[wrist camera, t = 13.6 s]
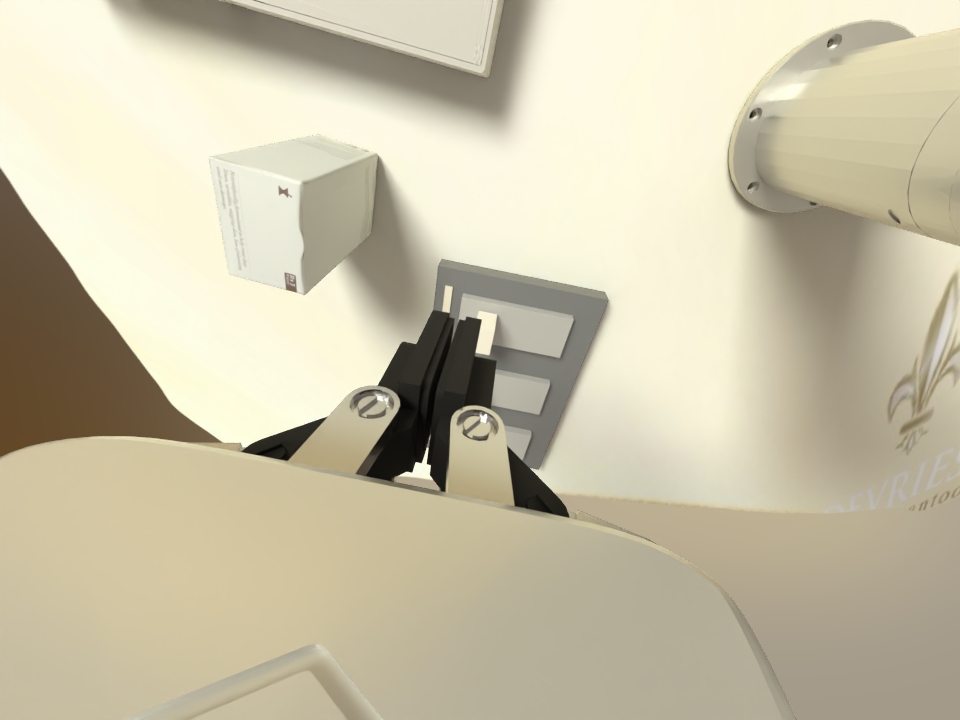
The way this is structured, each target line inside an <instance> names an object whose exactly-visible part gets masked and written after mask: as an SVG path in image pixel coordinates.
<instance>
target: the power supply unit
mask: <svg viewBox="0 0 960 720" xmlns="http://www.w3.org/2000/svg"><path fill="white" fill-rule="evenodd" d="M218 1H221V2H225V3H228V4H234V5H237V6H240V7H243V8H245V9H247V8H248V9H251V10H254V11H257V12H261V13H264V14H268V15H271V16H274V17H278V18H281V19H285V20H288V21H292V22H295V23H298V24H302V25H305V26H309V27H312V28H316V29H319V30H323V31H326V32H329V33H333V34H336V35H340V36H343V37H347V38H350V39H353V40H357V41H360V42H364V43H367V44H371V45H374V46H378V47H381V48H384V49H388V50H391V51H395V52H398V53H402V54H405V55H408V56H412V57H415V58H419V59H422V60H426V61H429V62H433V63H436V64H439V65H443V66H446V67H450V68H453V69H457V70H460V71H464V72H467V73H470V74H474V75H477V76H481V77H484V78H487V77H489V76H490V72H491V67H492V62H493V57H494V52H495V46H496V41H497V36H498V31H499V26H500V21H501V16H502V10H503V5H504V0H218Z"/></svg>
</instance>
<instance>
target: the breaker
mask: <svg viewBox="0 0 960 720" xmlns="http://www.w3.org/2000/svg"><path fill="white" fill-rule="evenodd" d="M477 319H482V322H481V327H480V333H479V338H478V343H477V348H476V353H480V354H485V355H490V350H491V346H492V341H493V337H494V332H495V326H496V319H497V314H493V313H488V312H483V311H479V312H478V316H477Z"/></svg>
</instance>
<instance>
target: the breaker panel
mask: <svg viewBox="0 0 960 720" xmlns="http://www.w3.org/2000/svg"><path fill="white" fill-rule="evenodd" d="M607 303H608V298H607V295H606V293H605V292H602V291H597V290H592V289H587V288H582V287H577V286H572V285H567V284H562V283H557V282H552V281H547V280H543V279H538V278H533V277H528V276H523V275H518V274H513V273H508V272H503V271H498V270H493V269H488V268H483V267H478V266H473V265H469V264H464V263H459V262H454V261H449V260H444V259H442V260H441V262H440V263H439V265H438V273H437V283H436V292H435V302H434V310H437V311H442V312H447V313H449V317H451V318H455V321H454V329H453V335H452V340H453V337H454V334H455V331H456V328H457V325H458V322H459V319H461V320H465V319H466V316H467V317H472V318H477V316H478V312H479V311H483V312H488V313H493V314H497V319H496V326H495V332H494V337H493V341H492V346H491V350H490V355H485V354H480V353H475V356H477V357H482V358H487V359H492V360H497V363H496V372H495V380H494V388H493V396H492V404H491V410H492V411H493V412H495V413H496V414H497V415H498V416H499V417H500V418H501V420H502V421H503V424H504V428H505V436H506V443H507V446H508V447H509V448H510V449H511V450H512V451H513V452H514V453H515V454H516V455H517V456H518V457H519V458H520V459H521V460H522V461H523V462H524V463H525V464H526V465H527V466H528V467H529V468H534V469H539V467H540V465H541V462H542V460H543V458H544V455H545V453H546V450H547V448H548V445H549V443H550V441H551V438H552V436H553V433H554V431H555V429H556V426H557V424H558V421H559V419H560V416H561V414H562V412H563V409H564V407H565V404H566V402H567V399H568V397H569V395H570V392H571V390H572V387H573V385H574V383H575V380H576V378H577V375H578V373H579V370H580V368H581V366H582V363H583V361H584V358H585V356H586V353H587V351H588V349H589V346H590V344H591V341H592V339H593V336H594V334H595V332H596V329H597V327H598V324H599V322H600V320H601V317H602V315H603V312H604V310H605V307H606V305H607ZM451 343H452V342H451ZM430 435H431V434H430ZM429 443H430V438H429V441H428V444H427V447H428V448H429Z"/></svg>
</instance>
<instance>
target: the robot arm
mask: <svg viewBox="0 0 960 720" xmlns="http://www.w3.org/2000/svg"><path fill="white" fill-rule="evenodd" d="M828 40H829V45H828V46H827V43H828ZM752 111H753V115H752V117H751V118H749V116H750V113H751V112H752ZM729 170H730V174H731V179H732V181H733V183H734V185H735V187H736V189H737V191H738V192H739V193H740V194H741V195H742V196H743V198H744V199H745V200H747V201H748V202H750V203H751V204H753V205H755V206H757V207H759V208H762V209H764V210H767V211H772V212H777V213H796V212H802V211H808V210H812V209H815V208H818V207H821V206H828V207H831V208H834V209H837V210H841V211H844V212H847V213H851V214H854V215H857V216H861V217H864V218H867V219H870V220H874V221H877V222H880V223H884V224H887V225H890V226H893V227H897V228H900V229H903V230H907V231H910V232H913V233H917V234H920V235H923V236H926V237H930V238H933V239H936V240H940V241H943V242H946V243H950V244H953V245H957V246H960V28H958V29H954V30H949V31H944V32H939V33H934V34H929V35H924V36H919V37H916V36H915V35H914V34H913V33H911V32H910V31H909V30H908V29H906V28H905V27H904V26H901V25H898V24H896V23H893V22H890V21H882V20H865V21H859V22H853V23H848V24H845V25H842V26H838V27H835V28H832V29H830V30H828V31H825V32H823V33H821V34H819V35H817V36H814V37H812V38H811V39H809V40H807V41H806V42H804V43H803V44H801V45H800V46H798V47H797V48H795V49H794V50H792V51H791V52H790V53H789V54H787V55H786V56H785V57H784V58H783V59H782V60H780V61H779V62H778V63H777V64H776V65H775V66H774V67H773V68H772V69H771V70H770V71H769V72H768V73H767V74H766V76H765V77H764V78H763V79H762V80H761V81H760V82H759V84H758V85H757V87H756V88H755V89H754V91H753V92H752V94H751V95H750V96H749V98H748V99H747V101H746V103H745V105H744V107H743V109H742V111H741V113H740V114H739V116H738V119H737V122H736V124H735V127H734V130H733V133H732V136H731V142H730V147H729ZM750 183H751V186H750V187H749V188H748V186H749V185H750ZM454 321H455V318H451V317H449V313H447V312H442V311H437V310H433V311H432V313H431V315H430V317H429V319H428V321H427V324H426V326H425V328H424V330H423V332H422V334H421V336H420V338H419V340H418V342H417V344H412V343H407V342H402V343H401V344H400V346H399V348H398V350H397V352H396V353H395V355H394V357H393V359H392V361H391V362H390V364H389V366H388V368H387V370H386V372H385V373H384V375H383V377H382V379H381V381H380V382H379V384H378V386H366V387H361V388H358V389H356V390H354V391H352V392H351V393H350V394H349V395H347V397H346V398H345V399H344V400H343V401H342V402H341V403H340V404H339V405H338V406H337V408H336V409H335V410H334V411H333V412H332V413H331V414H330V415H329V416H328V417H325V418H322V419H319V420H316V421H313V422H311V423H308V424H305V425H302V426H299V427H296V428H293V429H290V430H287V431H284V432H282V433H279V434H276V435H273V436H270V437H267V438H264V439H261V440H259V441H257V442H255V443H252V444H250V445H249V446H248V447H246V448H242V445H241V443H184V442H177V441H170V440H163V439H155V438H144V437H129V436H95V437H85V438H74V439H65V440H59V441H52V442H47V443H42V444H38V445H33V446H29V447H26V448H23V449H20V450H17V451H14V452H11V453H9V454H7V455H5V456H2V457H0V720H797V719H796V717H795V715H794V713H793V711H792V708H791V706H790V704H789V702H788V700H787V697H786V695H785V693H784V691H783V689H782V687H781V685H780V683H779V681H778V679H777V676H776V674H775V672H774V670H773V668H772V666H771V664H770V662H769V660H768V658H767V656H766V654H765V652H764V651H763V649H762V647H761V645H760V643H759V641H758V640H757V638H756V636H755V634H754V632H753V630H752V629H751V627H750V625H749V623H748V622H747V620H746V618H745V617H744V615H743V614H742V612H741V611H740V609H739V608H738V606H737V605H736V603H735V602H734V601H733V600H732V598H731V597H730V596H729V595H728V594H727V592H726V591H725V590H724V589H723V588H722V587H721V586H720V585H719V584H718V583H717V582H716V581H715V580H713V579H712V578H711V577H710V576H708V575H707V574H706V573H704V572H703V571H702V570H700V569H699V568H697V567H696V566H694V565H693V564H691V563H690V562H688V561H687V560H685V559H683V558H681V557H680V556H678V555H676V554H674V553H672V552H671V551H669V550H667V549H666V548H663V547H661V546H659V545H657V544H656V543H654V542H652V541H651V540H649V539H647V538H644V537H642V536H639V535H637V534H634V533H632V532H630V531H627V530H625V529H622V528H620V527H618V526H615V525H613V524H611V523H608V522H606V521H603V520H601V519H599V518H596V517H594V516H591V515H589V514H587V513H584V512H582V511H579V510H578V511H577V512H576V514H575V513H573V512H571V511H568V510H567V509H566V506H565V505H564V504H563V503H562V501H561V500H560V499H559V498H558V497H557V496H556V495H555V494H554V493H553V492H552V491H551V490H550V489H549V487H548V486H547V485H546V484H545V483H544V482H543V481H542V480H541V479H540V478H539V477H538V476H537V475H536V474H535V473H534V472H533V471H532V470H531V469H530V468H529V467H528V466H527V465H526V464H525V463H524V462H523V461H522V460H521V459H520V458H519V457H518V456H517V455H516V454H515V453H514V452H513V451H512V450H511V449H510V448H509V447H508V446H507V443H506V436H505V428H504V424H503V421H502V420H501V418H500V417H499V416H498V415H497V414H496V413H495V412H493V411H492V410H491V404H492V396H493V388H494V380H495V372H496V363H497V360H492V359H487V358H482V357H477V356H475V353H476V348H477V343H478V338H479V333H480V327H481V322H482V319H477V318H472V317H467V316H466V319H465V320H461V319H459V322H458V325H457V328H456V331H455V334H454V337H453V340H452V335H453V329H454ZM451 342H452V343H451ZM430 434H431V435H430ZM429 438H430V443H429V451H428V459H427V464H429V465H431V471H430V476H431V477H432V478H433V480H434V481H435V482H436V484H437V485H438V486H439V488H440V489H439V491H437V490H431V489H427V488H422V487H417V486H412V485H407V484H402V483H397V482H396V476H398V475H400V474H402V473H404V472H406V471H407V472H412V471H413V468H414V465H415V462H419V463H422V461H423V458H424V454H425V451H426V448H427V444H428V441H429Z"/></svg>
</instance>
